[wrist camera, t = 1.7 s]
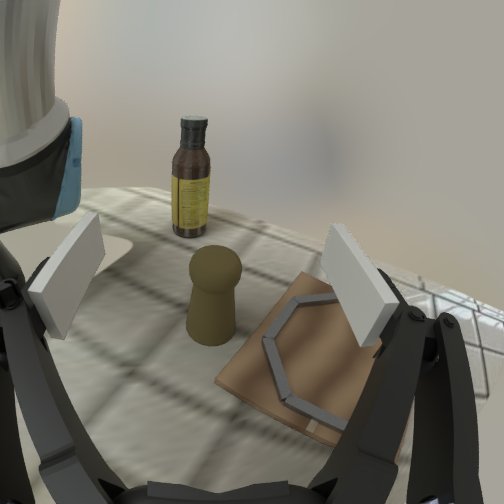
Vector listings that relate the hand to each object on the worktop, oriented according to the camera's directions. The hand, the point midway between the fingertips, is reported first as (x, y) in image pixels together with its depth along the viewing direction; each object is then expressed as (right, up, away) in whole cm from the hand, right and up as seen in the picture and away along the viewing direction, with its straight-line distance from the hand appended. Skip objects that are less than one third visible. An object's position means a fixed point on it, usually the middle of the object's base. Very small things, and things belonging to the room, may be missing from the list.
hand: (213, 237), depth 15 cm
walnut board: (+13, -14, +16) cm, 25 cm away
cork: (-3, -10, +18) cm, 21 cm away
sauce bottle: (-9, +3, +33) cm, 35 cm away
